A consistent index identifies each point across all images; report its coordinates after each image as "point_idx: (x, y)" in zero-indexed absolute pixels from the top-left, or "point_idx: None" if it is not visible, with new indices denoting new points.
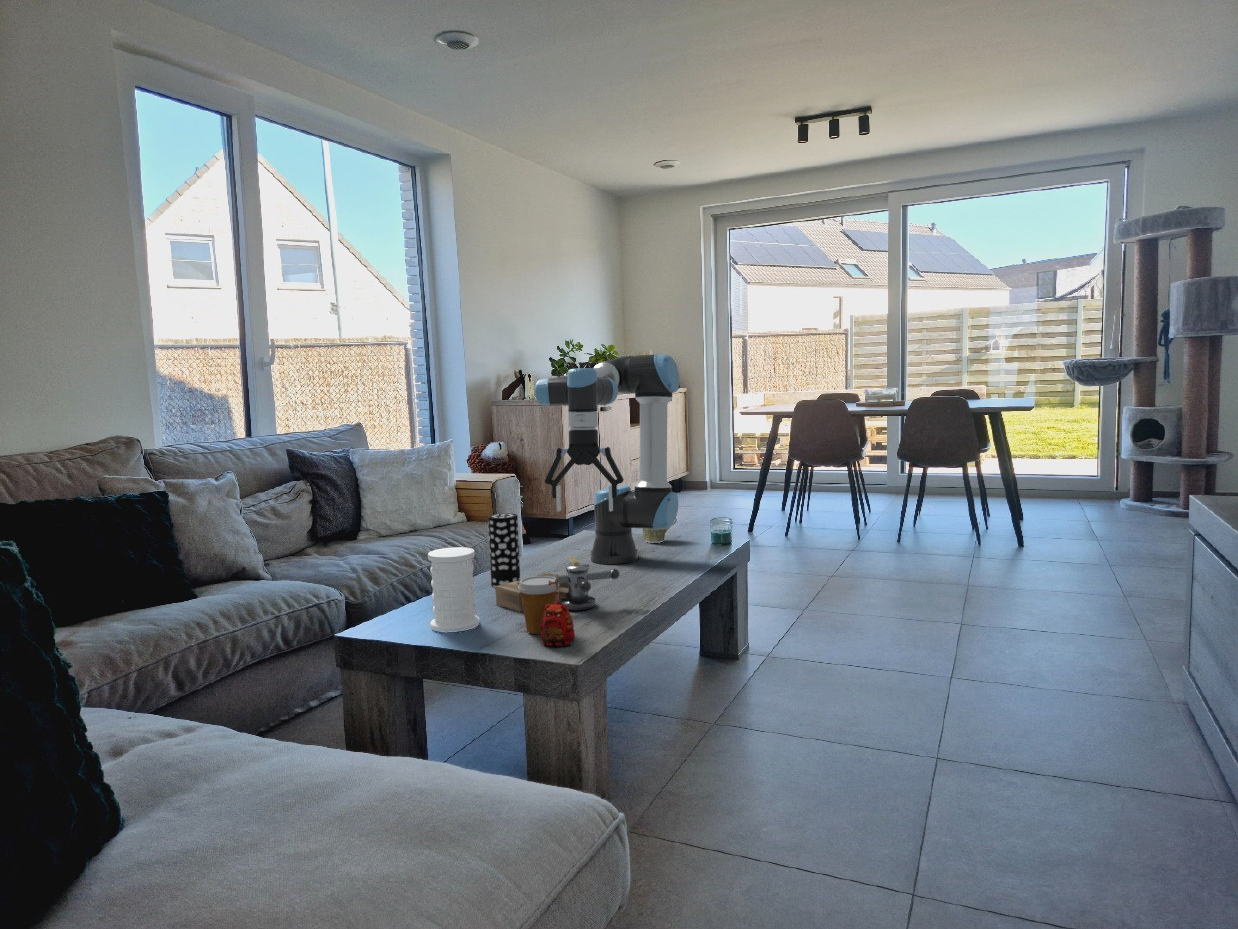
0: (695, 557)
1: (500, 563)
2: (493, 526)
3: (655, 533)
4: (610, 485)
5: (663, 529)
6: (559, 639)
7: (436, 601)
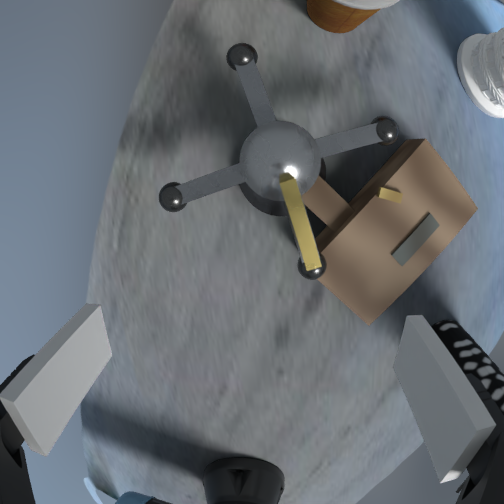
0: (118, 462)
1: (472, 346)
2: None
3: None
4: (24, 430)
5: None
6: None
7: None
